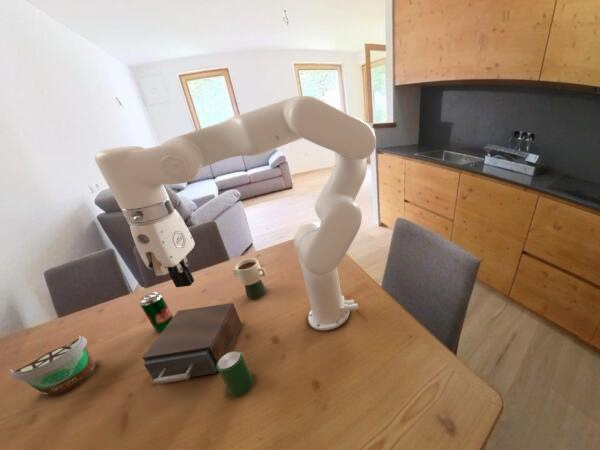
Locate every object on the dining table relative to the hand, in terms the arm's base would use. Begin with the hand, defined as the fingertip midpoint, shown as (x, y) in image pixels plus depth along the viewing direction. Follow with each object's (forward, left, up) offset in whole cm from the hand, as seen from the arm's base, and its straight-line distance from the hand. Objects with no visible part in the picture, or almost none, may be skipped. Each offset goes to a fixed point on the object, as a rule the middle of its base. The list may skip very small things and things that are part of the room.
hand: (185, 284), depth 63 cm
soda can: (+22, -16, -25) cm, 37 cm away
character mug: (-2, -26, -25) cm, 36 cm away
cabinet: (+6, -4, -25) cm, 26 cm away
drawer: (+6, 0, -24) cm, 25 cm away
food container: (+35, 0, -25) cm, 43 cm away
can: (-8, +9, -25) cm, 28 cm away
